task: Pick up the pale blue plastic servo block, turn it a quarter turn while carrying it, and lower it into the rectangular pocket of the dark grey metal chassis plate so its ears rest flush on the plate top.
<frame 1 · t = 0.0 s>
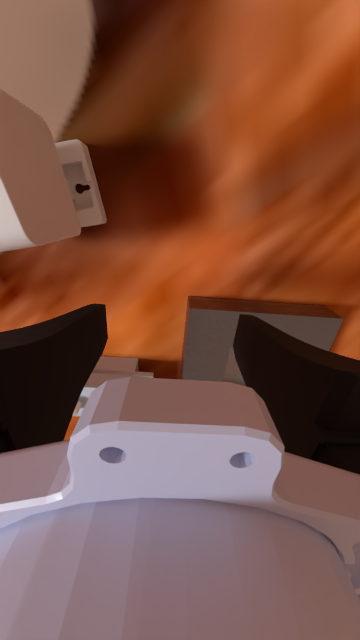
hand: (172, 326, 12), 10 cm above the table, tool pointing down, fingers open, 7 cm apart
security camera: (57, 193, 18), on the table
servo: (108, 369, 26), on the table
chassis: (240, 364, 26), on the table
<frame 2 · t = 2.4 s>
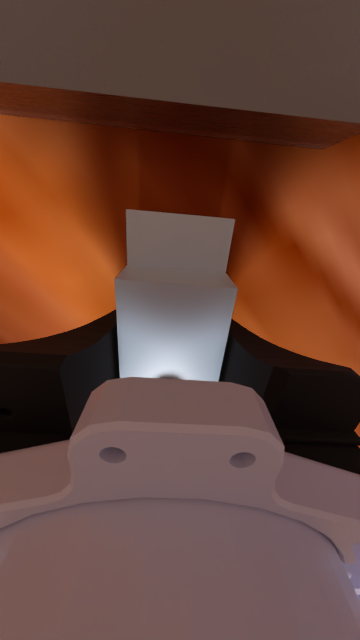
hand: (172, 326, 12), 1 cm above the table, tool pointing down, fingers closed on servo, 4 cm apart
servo: (172, 314, 13), on the table, touching gripper
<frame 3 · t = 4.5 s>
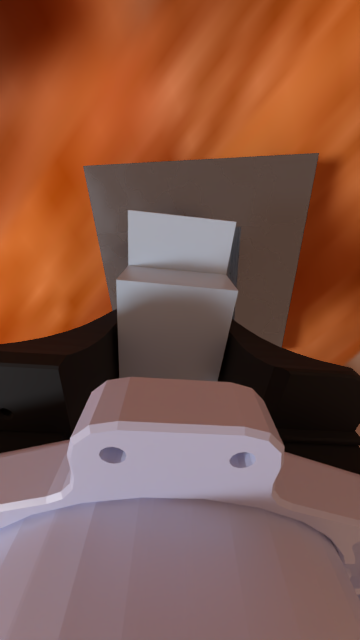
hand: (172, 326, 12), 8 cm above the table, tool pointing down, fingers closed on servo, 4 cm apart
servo: (171, 315, 13), point 7 cm above the table, touching gripper
chassis: (197, 277, 19), on the table
when the fingers open (3 cm above the table, at t = 6.7 s): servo drops 1 cm, resting on chassis.
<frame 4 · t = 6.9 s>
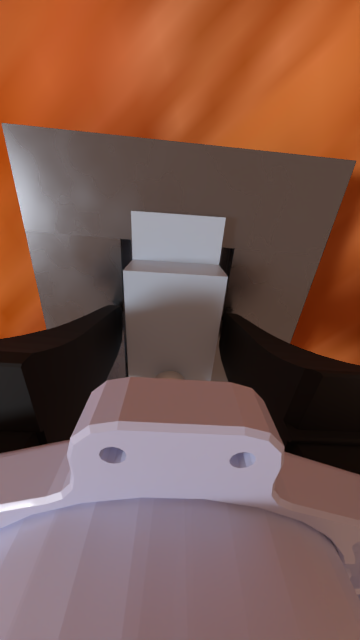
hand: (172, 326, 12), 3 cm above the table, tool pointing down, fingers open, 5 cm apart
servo: (173, 306, 14), point 1 cm above the table, touching chassis
chassis: (173, 302, 15), on the table
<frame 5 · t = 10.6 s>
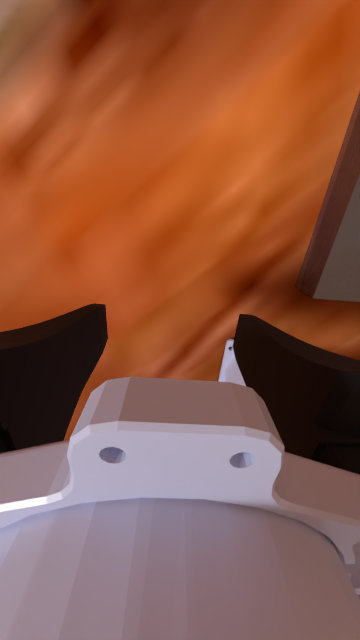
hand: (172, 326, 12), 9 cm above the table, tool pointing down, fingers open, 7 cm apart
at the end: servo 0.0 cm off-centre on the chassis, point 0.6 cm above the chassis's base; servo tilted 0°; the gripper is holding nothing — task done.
